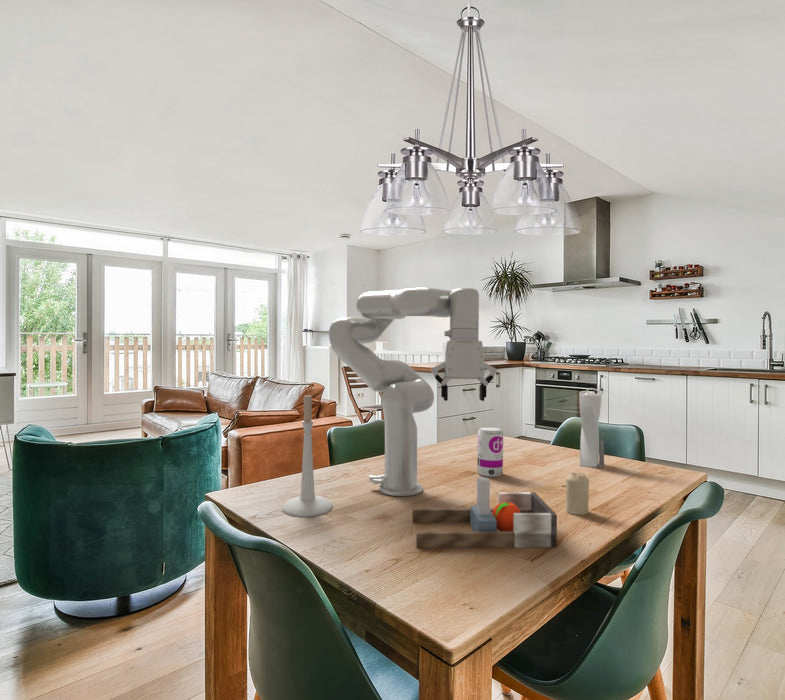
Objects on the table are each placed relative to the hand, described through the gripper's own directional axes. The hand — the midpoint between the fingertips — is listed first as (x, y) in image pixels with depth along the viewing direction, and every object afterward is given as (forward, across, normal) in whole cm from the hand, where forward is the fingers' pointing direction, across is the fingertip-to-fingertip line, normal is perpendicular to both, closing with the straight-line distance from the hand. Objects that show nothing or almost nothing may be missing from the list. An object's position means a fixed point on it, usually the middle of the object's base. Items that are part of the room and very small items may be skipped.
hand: (463, 400), depth 130 cm
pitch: (+28, +1, -18) cm, 34 cm away
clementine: (+28, +7, -18) cm, 34 cm away
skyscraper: (+29, +52, +42) cm, 73 cm away
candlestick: (+28, -41, -1) cm, 50 cm away
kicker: (+28, +2, -18) cm, 34 cm away
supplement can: (+28, +14, +31) cm, 44 cm away
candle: (+28, +29, -4) cm, 41 cm away
